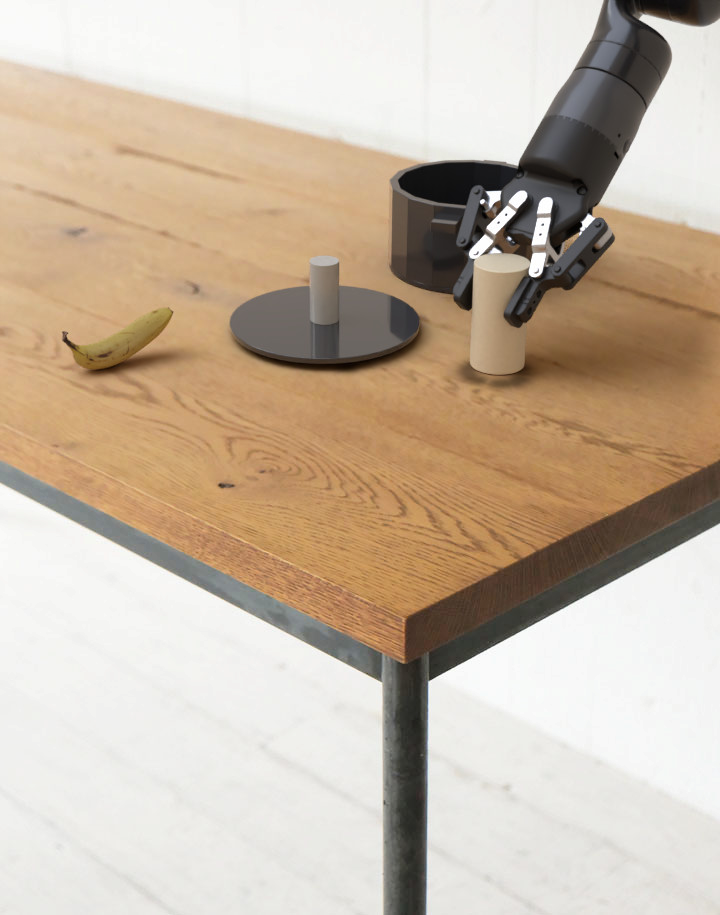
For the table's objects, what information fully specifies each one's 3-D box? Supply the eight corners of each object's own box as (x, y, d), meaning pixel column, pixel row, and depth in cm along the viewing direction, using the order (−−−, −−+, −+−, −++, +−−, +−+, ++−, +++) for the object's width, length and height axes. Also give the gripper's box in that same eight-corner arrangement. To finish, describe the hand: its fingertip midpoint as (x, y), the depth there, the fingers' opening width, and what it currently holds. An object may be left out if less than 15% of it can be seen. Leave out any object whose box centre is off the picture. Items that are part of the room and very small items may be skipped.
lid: (440, 308, 125) (443, 240, 121) (387, 382, 110) (389, 307, 107) (270, 287, 129) (268, 220, 126) (199, 355, 115) (195, 282, 112)
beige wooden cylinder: (529, 356, 115) (535, 256, 111) (518, 378, 111) (524, 275, 107) (476, 349, 116) (481, 250, 112) (463, 370, 112) (467, 268, 108)
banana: (167, 344, 117) (164, 301, 115) (181, 353, 115) (178, 310, 113) (59, 372, 112) (54, 327, 110) (72, 382, 110) (67, 337, 108)
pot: (564, 240, 141) (570, 161, 137) (522, 313, 123) (528, 224, 119) (420, 225, 145) (422, 147, 141) (360, 293, 128) (361, 206, 124)
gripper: (496, 98, 113) (398, 270, 111) (642, 129, 105) (539, 316, 103) (530, 148, 119) (438, 312, 117) (670, 181, 111) (573, 359, 109)
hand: (486, 313), depth 110 cm, fingers closed on beige wooden cylinder, 4 cm apart
